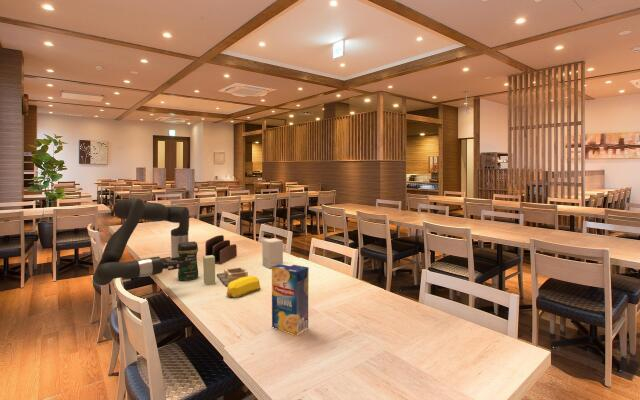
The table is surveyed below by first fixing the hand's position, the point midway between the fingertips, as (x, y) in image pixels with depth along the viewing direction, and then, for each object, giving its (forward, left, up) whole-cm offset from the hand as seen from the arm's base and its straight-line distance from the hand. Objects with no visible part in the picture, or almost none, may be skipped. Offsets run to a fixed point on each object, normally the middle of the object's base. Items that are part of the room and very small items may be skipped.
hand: (185, 260), depth 163 cm
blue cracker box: (+59, +26, -13) cm, 66 cm away
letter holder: (-43, +26, -14) cm, 52 cm away
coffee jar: (-15, +3, -13) cm, 20 cm away
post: (-3, +11, -13) cm, 17 cm away
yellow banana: (+17, +22, -14) cm, 31 cm away
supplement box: (-17, +49, -13) cm, 54 cm away
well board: (-3, +23, -13) cm, 27 cm away
